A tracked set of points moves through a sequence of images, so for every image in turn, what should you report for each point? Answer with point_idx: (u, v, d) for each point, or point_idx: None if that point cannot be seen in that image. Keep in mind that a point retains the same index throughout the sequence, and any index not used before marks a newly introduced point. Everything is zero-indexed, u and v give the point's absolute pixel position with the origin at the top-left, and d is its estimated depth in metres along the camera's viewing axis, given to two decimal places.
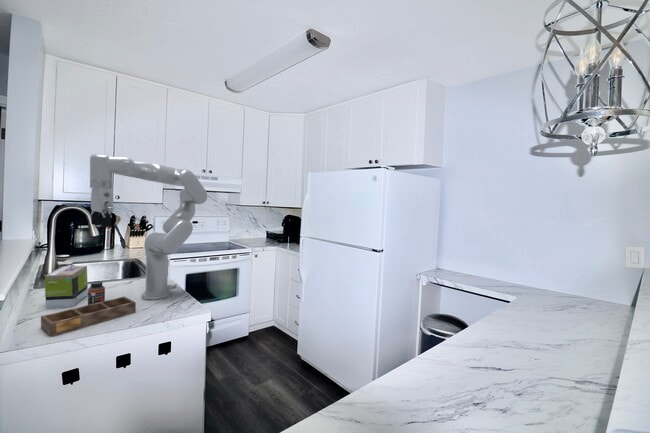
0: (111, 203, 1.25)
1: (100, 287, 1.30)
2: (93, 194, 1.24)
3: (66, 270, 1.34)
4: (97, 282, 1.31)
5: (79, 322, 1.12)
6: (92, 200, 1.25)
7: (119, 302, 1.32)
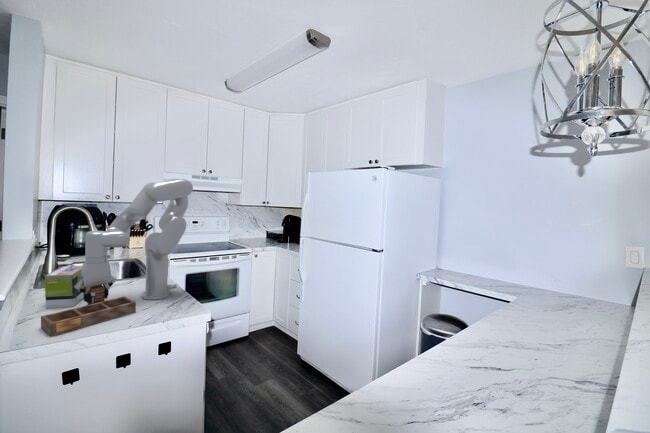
0: None
1: (100, 287, 1.30)
2: (96, 270, 1.28)
3: (66, 270, 1.34)
4: None
5: (79, 322, 1.12)
6: (93, 276, 1.28)
7: (119, 302, 1.32)
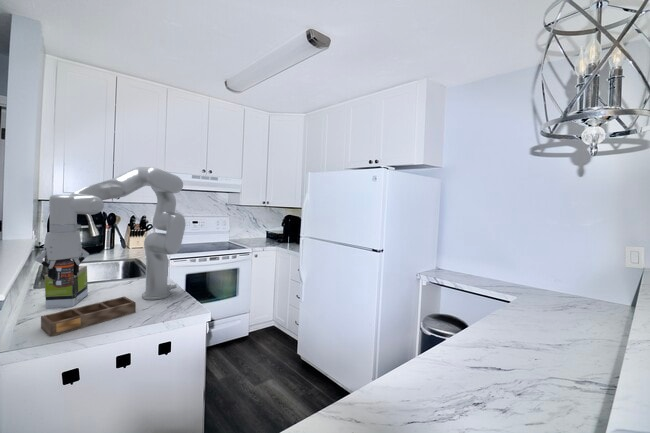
0: None
1: (68, 261, 1.10)
2: (63, 240, 1.08)
3: None
4: None
5: (79, 322, 1.12)
6: (58, 248, 1.08)
7: (119, 302, 1.32)
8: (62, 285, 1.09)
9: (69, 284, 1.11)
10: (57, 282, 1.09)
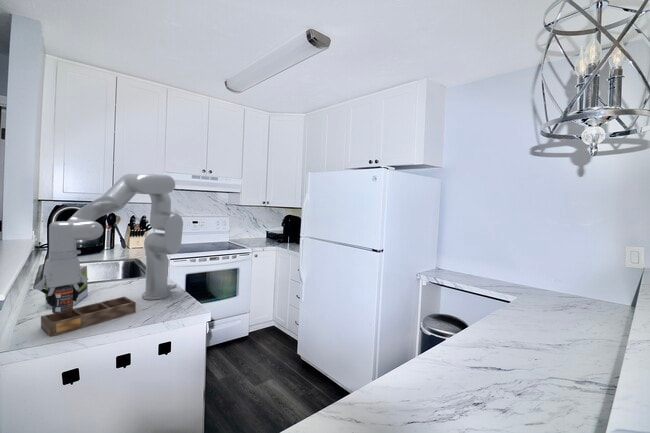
0: None
1: (67, 287, 1.11)
2: (62, 267, 1.09)
3: None
4: None
5: (79, 322, 1.12)
6: (58, 275, 1.08)
7: (119, 302, 1.32)
8: (61, 311, 1.10)
9: (68, 310, 1.11)
10: (56, 309, 1.09)
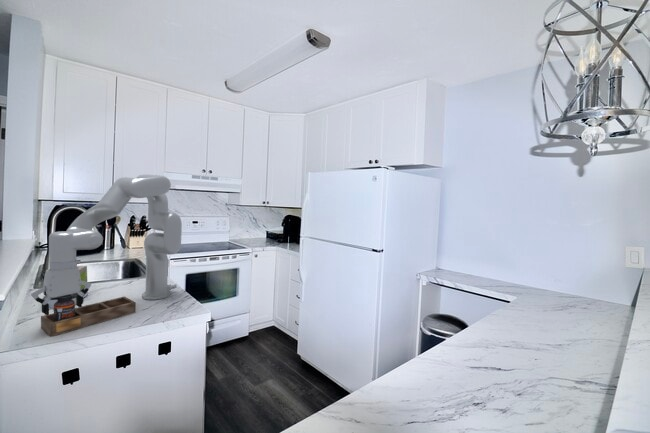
0: None
1: (68, 301, 1.12)
2: (63, 277, 1.09)
3: None
4: None
5: (79, 322, 1.12)
6: (58, 285, 1.08)
7: (119, 302, 1.32)
8: None
9: None
10: None
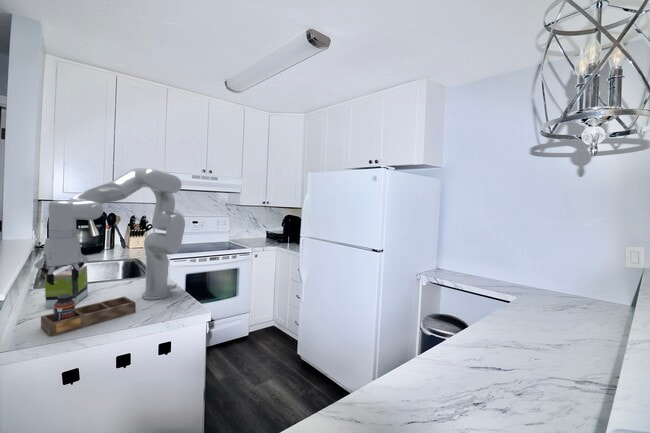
0: None
1: (68, 301, 1.12)
2: (62, 246, 1.08)
3: (66, 270, 1.34)
4: (65, 295, 1.12)
5: (79, 322, 1.12)
6: (58, 254, 1.07)
7: (119, 302, 1.32)
8: None
9: None
10: None
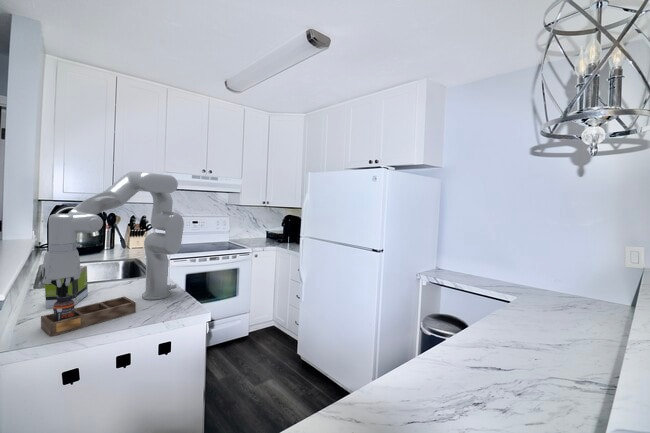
0: None
1: (68, 301, 1.12)
2: (62, 260, 1.08)
3: None
4: None
5: (79, 322, 1.12)
6: (57, 267, 1.08)
7: (119, 302, 1.32)
8: None
9: None
10: None
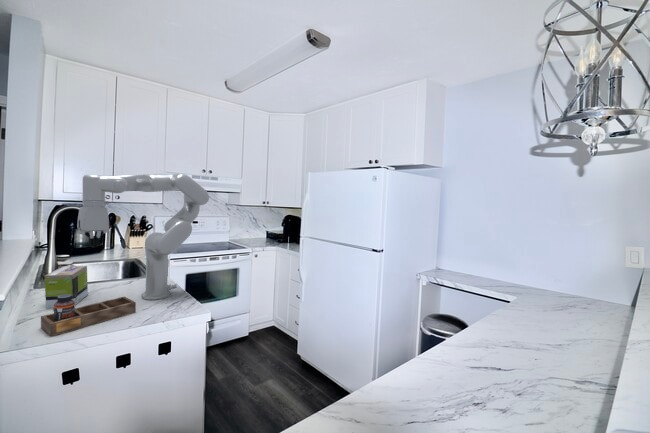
0: None
1: (68, 301, 1.12)
2: (94, 214, 1.25)
3: (66, 270, 1.34)
4: (65, 295, 1.12)
5: (79, 322, 1.12)
6: (90, 220, 1.25)
7: (119, 302, 1.32)
8: None
9: None
10: None
